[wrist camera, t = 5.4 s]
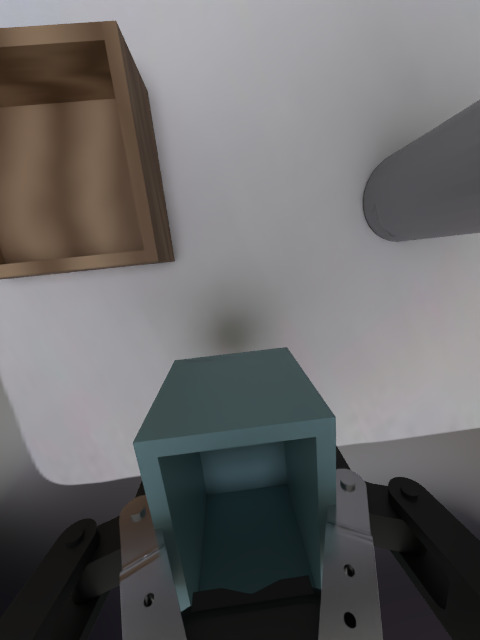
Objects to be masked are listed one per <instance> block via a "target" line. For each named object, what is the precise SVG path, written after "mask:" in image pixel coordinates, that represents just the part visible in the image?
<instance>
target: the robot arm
mask: <svg viewBox="0 0 480 640" xmlns="http://www.w3.org/2000/svg"><path fill="white" fill-rule="evenodd" d="M363 202H364V212H365V216H366V219H367V221H368V223H369V225H370V227H371V228H372V229H373V231H374V232H375V233H376V234H378V235H379V236H380V237H382V238H384V239H387V240H390V241H397V242H398V241H408V240H417V239H427V238H437V237H445V236H454V235H463V234H472V233H480V100H478V101H477V102H475V103H474V104H472V105H471V106H469V107H467V108H466V109H464V110H463V111H461V112H460V113H458V114H456V115H455V116H453V117H452V118H450V119H448V120H447V121H445V122H444V123H442V124H441V125H439V126H437V127H436V128H434V129H433V130H431V131H430V132H428V133H426V134H425V135H423V136H422V137H420V138H418V139H417V140H415V141H413V142H412V143H410V144H409V145H407V146H405V147H404V148H402V149H401V150H399V151H398V152H396V153H394V154H393V155H391V156H390V157H388V158H387V159H385V160H384V161H383V162H382V163H381V164H380V165H378V167H377V168H376V169H375V171H374V172H373V173H372V175H371V177H370V179H369V181H368V183H367V186H366V189H365V193H364V201H363ZM374 546H376V547H381V548H386V549H390V551H391V552H392V554H393V555H394V557H395V558H396V560H397V561H398V562H399V564H400V565H401V567H402V568H403V569H404V571H405V572H406V574H407V575H408V577H409V578H410V580H411V581H412V582H413V584H414V585H415V587H416V588H417V590H418V591H419V592H420V594H421V595H422V596H423V598H424V599H425V601H426V602H427V604H428V605H429V607H430V608H431V610H432V611H433V612H434V614H435V615H436V617H437V618H438V620H439V621H440V622H441V624H442V625H443V627H444V628H445V630H446V631H447V632H448V634H449V635H450V637H451V638H452V640H480V541H479V540H478V539H477V538H476V537H475V536H474V535H473V534H472V533H471V532H470V531H469V530H468V529H467V528H466V527H465V526H464V525H463V524H461V522H459V521H458V520H457V519H456V518H455V517H454V516H453V515H452V514H451V513H450V512H449V511H448V510H447V509H446V508H445V507H444V506H443V505H442V504H441V503H439V502H438V501H437V500H436V499H435V498H434V497H433V496H432V495H431V494H430V493H429V492H428V491H427V490H426V489H425V488H424V487H423V486H421V485H420V484H419V483H417V482H415V481H413V480H411V479H408V478H404V477H395V478H393V479H391V480H390V482H389V484H388V486H384V485H378V484H372V483H368V482H366V481H364V480H363V479H362V477H361V476H360V475H358V474H357V473H356V472H354V471H352V470H350V468H349V466H348V464H347V463H346V461H345V459H344V458H343V456H342V454H341V453H340V451H339V449H338V448H337V446H336V504H334V505H328V516H327V522H326V530H325V545H324V560H323V575H322V590H321V589H318V588H314V587H312V586H311V582H310V578H309V575H306V576H299V577H292V578H286V579H280V580H278V581H276V582H274V583H272V584H271V585H269V586H267V587H265V588H263V589H261V590H259V591H257V592H255V593H252V594H249V593H244V592H239V591H234V590H229V589H224V588H218V589H211V590H204V591H198V592H193V597H192V605H191V606H189V607H187V608H186V609H184V610H183V611H182V612H181V609H180V605H179V601H178V597H177V592H176V588H175V583H174V579H173V575H172V571H171V567H170V563H169V559H168V554H167V550H166V546H165V541H164V537H163V533H162V528H159V529H154V526H153V522H152V518H151V514H150V510H149V506H148V502H147V498H146V494H145V490H144V486H143V482H141V484H140V487H139V489H138V492H137V495H136V497H135V498H134V499H133V500H131V501H130V502H129V503H128V504H127V505H126V506H125V507H124V508H123V510H122V512H121V514H120V516H118V517H116V518H114V519H112V520H110V521H108V522H105V523H103V524H101V525H99V526H97V524H96V522H95V521H94V520H93V519H83V520H80V521H77V522H76V523H74V524H72V525H71V526H70V527H68V528H67V529H66V530H65V531H64V532H63V533H62V534H61V535H60V537H59V538H58V539H57V541H56V542H55V543H54V545H53V546H52V548H51V549H50V550H49V552H48V553H47V554H46V556H45V557H44V559H43V560H42V561H41V563H40V564H39V566H38V567H37V568H36V570H35V571H34V572H33V574H32V575H31V577H30V578H29V580H28V581H27V582H26V584H25V585H24V586H23V588H22V589H21V591H20V592H19V593H18V595H17V596H16V598H15V599H14V600H13V602H12V603H11V604H10V606H9V607H8V609H7V610H6V611H5V613H4V614H3V616H2V617H1V618H0V640H88V638H89V636H90V634H91V631H92V629H93V627H94V625H95V623H96V621H97V618H98V616H99V614H100V612H101V609H102V607H103V605H104V603H105V600H106V598H107V596H108V594H109V592H110V589H112V588H114V587H116V586H118V585H120V595H121V596H120V597H121V615H122V634H123V640H383V636H382V625H381V616H380V606H379V595H378V585H377V576H376V565H375V555H374Z"/></svg>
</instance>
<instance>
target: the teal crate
mask: <svg viewBox="0 0 480 640" xmlns="http://www.w3.org/2000/svg"><path fill="white" fill-rule="evenodd" d="M133 445H134V449H135V453H136V457H137V461H138V465H139V469H140V473H141V477H142V482H143V486H144V490H145V494H146V498H147V502H148V506H149V510H150V514H151V518H152V522H153V526H154V529H159V528H162V533H163V537H164V541H165V546H166V550H167V554H168V559H169V563H170V567H171V571H172V575H173V579H174V583H175V588H176V592H177V597H178V601H179V605H180V609H181V612H182V611H183V610H184V609H186V608H187V607H189V606H191V605H192V597H193V592H198V591H204V590H211V589H218V588H224V589H229V590H234V591H239V592H244V593H249V594H252V593H255V592H257V591H259V590H261V589H263V588H265V587H267V586H269V585H271V584H272V583H274V582H276V581H278V580H280V579H286V578H292V577H299V576H306V575H309V578H310V582H311V586H312V587H314V588H318V589H321V590H322V575H323V560H324V545H325V530H326V522H327V516H328V505H334V504H336V417H335V416H334V414H333V413H332V411H331V410H330V408H329V407H328V405H327V404H326V403H325V401H324V400H323V398H322V397H321V395H320V394H319V393H318V391H317V390H316V388H315V387H314V385H313V384H312V383H311V381H310V380H309V378H308V377H307V375H306V374H305V373H304V371H303V370H302V368H301V367H300V365H299V364H298V362H297V361H296V360H295V358H294V357H293V355H292V354H291V352H290V351H289V350H288V348H287V347H285V348H277V349H268V350H260V351H251V352H243V353H234V354H226V355H217V356H209V357H200V358H192V359H183V360H175V361H174V363H173V365H172V367H171V369H170V371H169V373H168V375H167V377H166V379H165V381H164V383H163V385H162V387H161V389H160V391H159V393H158V395H157V397H156V398H155V400H154V402H153V404H152V406H151V408H150V410H149V412H148V414H147V416H146V418H145V420H144V422H143V424H142V426H141V428H140V430H139V432H138V434H137V436H136V438H135V440H134V442H133Z"/></svg>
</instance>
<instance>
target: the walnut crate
mask: <svg viewBox="0 0 480 640" xmlns="http://www.w3.org/2000/svg"><path fill="white" fill-rule="evenodd" d="M173 261H175V260H174V253H173V247H172V241H171V235H170V229H169V222H168V216H167V210H166V204H165V198H164V191H163V185H162V179H161V173H160V167H159V160H158V154H157V148H156V142H155V136H154V129H153V123H152V117H151V111H150V104H149V98H148V92H147V89H146V87H145V84H144V82H143V80H142V78H141V76H140V73H139V71H138V69H137V67H136V64H135V62H134V60H133V58H132V55H131V53H130V51H129V49H128V46H127V44H126V42H125V40H124V38H123V35H122V33H121V31H120V29H119V26H118V24H117V22H116V21H104V22H89V23H74V24H58V25H43V26H28V27H13V28H0V279H10V278H19V277H29V276H39V275H48V274H58V273H68V272H77V271H87V270H96V269H106V268H116V267H125V266H135V265H144V264H154V263H164V262H173Z"/></svg>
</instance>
